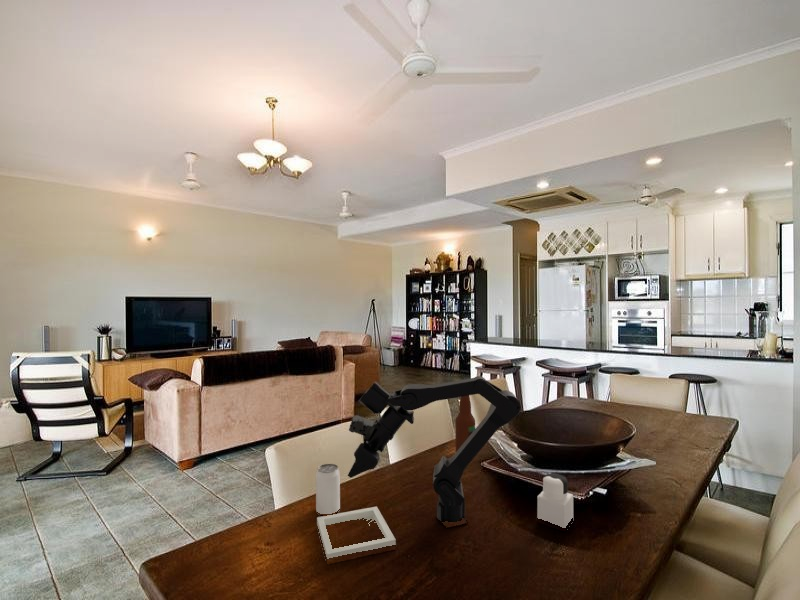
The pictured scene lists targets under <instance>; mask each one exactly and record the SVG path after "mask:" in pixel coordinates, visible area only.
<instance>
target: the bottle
mask: <svg viewBox="0 0 800 600" xmlns="http://www.w3.org/2000/svg"><path fill="white" fill-rule="evenodd" d="M459 399H460V400H459V409H458V410H459V411H458V414H457V416H456V418H455V453H456V452H457V451H458V449H459V448H460V447H461V446H462V444H463V443H464V442H465V441H466V440H467V438H468V437H469V436H470V435H471V434H472V432H473V431H474V430H475V429H476V419H475V416H474V415H473V413H472V403H471V397H470V395H468V396H463V397H460V398H459Z"/></svg>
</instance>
